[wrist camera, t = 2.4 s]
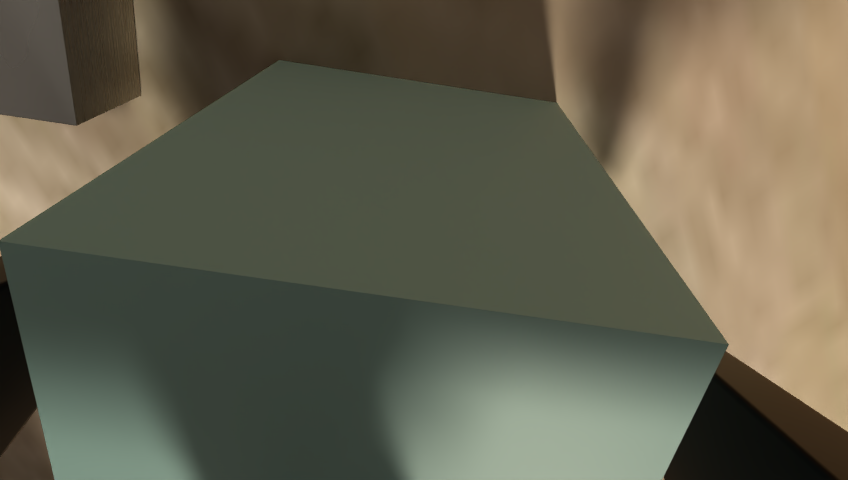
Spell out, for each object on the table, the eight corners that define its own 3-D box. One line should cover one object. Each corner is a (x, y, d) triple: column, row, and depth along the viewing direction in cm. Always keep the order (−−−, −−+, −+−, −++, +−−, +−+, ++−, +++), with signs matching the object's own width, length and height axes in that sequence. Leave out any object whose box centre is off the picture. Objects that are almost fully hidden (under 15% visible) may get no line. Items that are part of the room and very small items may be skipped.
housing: (491, 361, 13) (561, 1036, 5) (273, 330, 13) (-24, 976, 5) (556, 102, 10) (963, 675, 2) (279, 60, 10) (-409, 506, 2)
